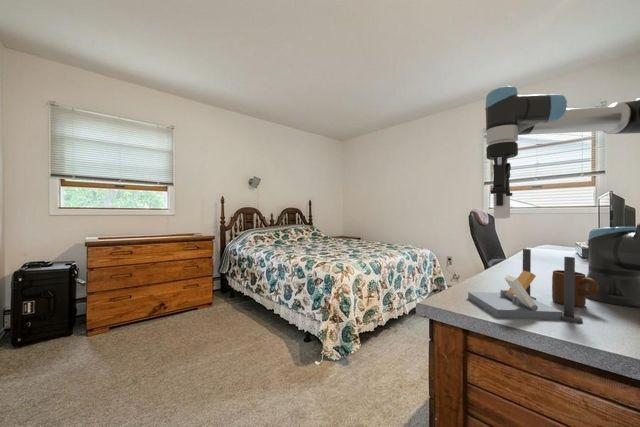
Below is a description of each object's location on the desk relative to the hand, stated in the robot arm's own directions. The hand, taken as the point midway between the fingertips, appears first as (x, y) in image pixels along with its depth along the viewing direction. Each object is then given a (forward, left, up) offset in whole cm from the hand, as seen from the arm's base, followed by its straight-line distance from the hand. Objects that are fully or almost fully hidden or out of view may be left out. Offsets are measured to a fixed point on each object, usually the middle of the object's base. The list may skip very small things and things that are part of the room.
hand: (502, 218), depth 77 cm
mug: (-24, -5, -26) cm, 36 cm away
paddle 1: (-4, -2, -23) cm, 23 cm away
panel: (-3, -1, -26) cm, 26 cm away
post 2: (-13, +7, -26) cm, 30 cm away
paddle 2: (-4, +6, -23) cm, 24 cm away
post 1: (-13, -9, -26) cm, 30 cm away
